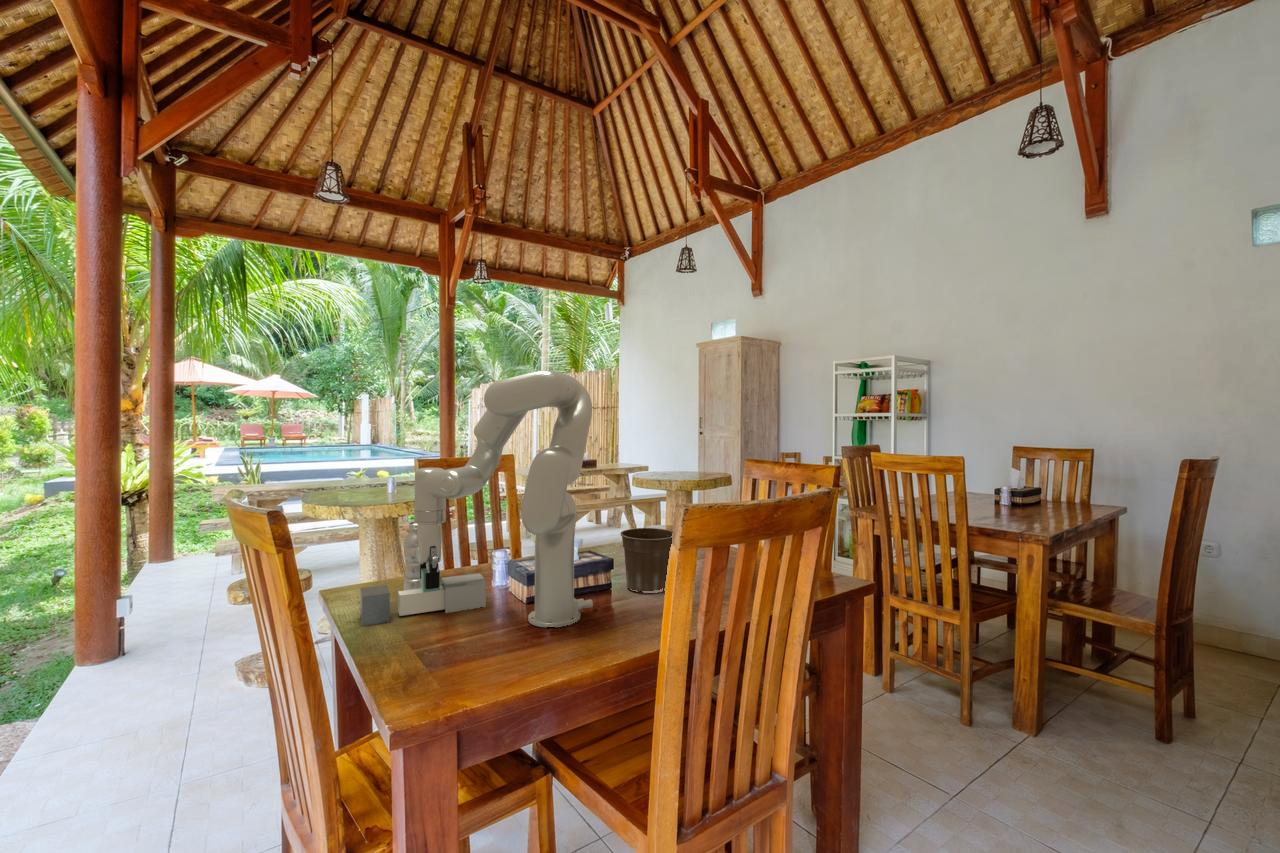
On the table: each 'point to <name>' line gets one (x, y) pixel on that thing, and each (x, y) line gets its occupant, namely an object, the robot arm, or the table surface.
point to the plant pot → (646, 557)
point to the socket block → (375, 605)
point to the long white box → (421, 598)
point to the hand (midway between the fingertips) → (429, 583)
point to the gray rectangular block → (464, 592)
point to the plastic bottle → (411, 559)
